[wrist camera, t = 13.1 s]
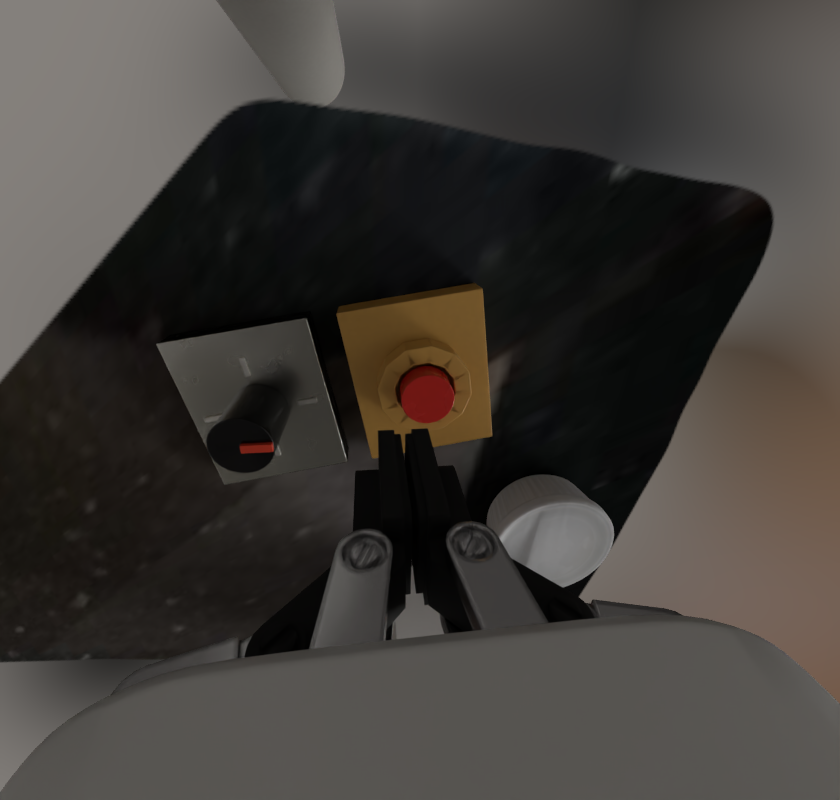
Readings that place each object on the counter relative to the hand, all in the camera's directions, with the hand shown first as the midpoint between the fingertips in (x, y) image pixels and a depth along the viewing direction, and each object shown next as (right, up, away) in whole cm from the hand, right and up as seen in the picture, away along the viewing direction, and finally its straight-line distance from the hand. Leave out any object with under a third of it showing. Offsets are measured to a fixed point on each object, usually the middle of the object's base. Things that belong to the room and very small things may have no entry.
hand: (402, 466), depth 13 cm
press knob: (+1, +3, +14) cm, 15 cm away
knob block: (+1, +5, +17) cm, 18 cm away
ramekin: (+12, -9, +26) cm, 30 cm away
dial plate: (-11, +2, +17) cm, 20 cm away
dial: (-11, +2, +15) cm, 19 cm away
